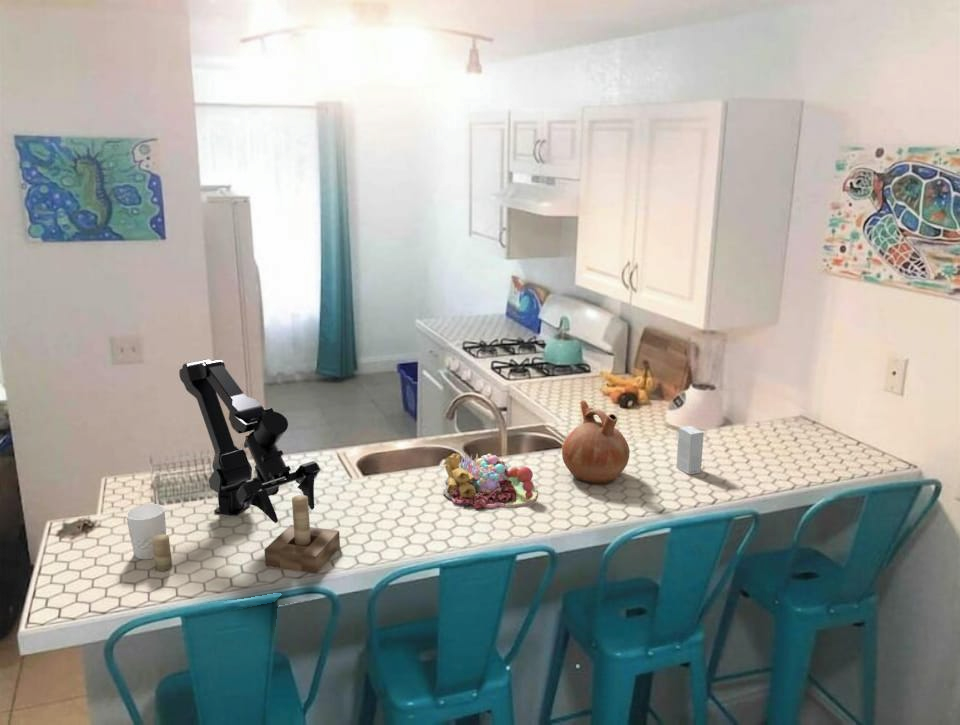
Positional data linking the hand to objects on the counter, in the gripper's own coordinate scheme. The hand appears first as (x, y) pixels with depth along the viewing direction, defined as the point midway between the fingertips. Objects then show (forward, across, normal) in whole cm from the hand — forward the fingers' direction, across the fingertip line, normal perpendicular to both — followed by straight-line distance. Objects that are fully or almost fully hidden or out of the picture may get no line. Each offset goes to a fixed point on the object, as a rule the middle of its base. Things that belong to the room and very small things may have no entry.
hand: (295, 515), depth 177 cm
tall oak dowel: (+8, 0, -4) cm, 9 cm away
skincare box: (+32, -103, +20) cm, 110 cm away
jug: (+21, -81, +8) cm, 84 cm away
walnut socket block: (+8, 0, -4) cm, 9 cm away
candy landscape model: (+11, -54, -2) cm, 55 cm away
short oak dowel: (-4, +24, -17) cm, 30 cm away
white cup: (-9, +24, -23) cm, 34 cm away
